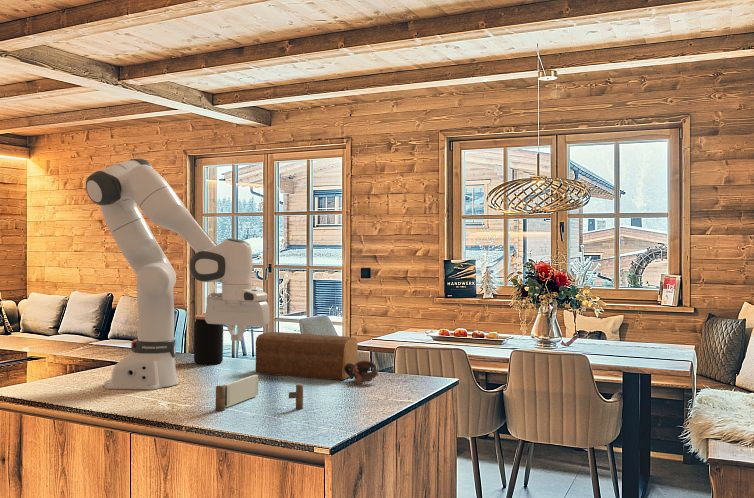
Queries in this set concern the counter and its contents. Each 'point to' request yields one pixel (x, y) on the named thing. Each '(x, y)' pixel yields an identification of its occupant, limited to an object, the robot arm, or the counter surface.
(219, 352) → the coffee jar
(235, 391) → the gate
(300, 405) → the post
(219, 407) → the hinge post
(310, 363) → the bread
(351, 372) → the pottery mug
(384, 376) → the counter surface
